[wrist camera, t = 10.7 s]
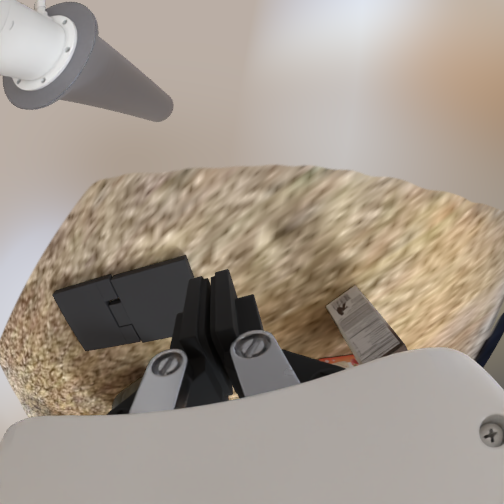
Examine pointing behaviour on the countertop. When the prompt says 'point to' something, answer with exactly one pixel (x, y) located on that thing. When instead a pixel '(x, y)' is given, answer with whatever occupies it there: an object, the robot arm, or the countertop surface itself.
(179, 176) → the countertop surface
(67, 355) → the countertop surface
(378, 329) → the coffee box
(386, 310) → the countertop surface
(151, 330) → the pad
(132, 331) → the base pad
